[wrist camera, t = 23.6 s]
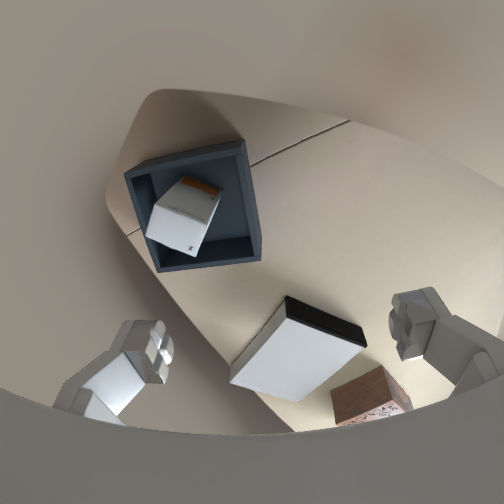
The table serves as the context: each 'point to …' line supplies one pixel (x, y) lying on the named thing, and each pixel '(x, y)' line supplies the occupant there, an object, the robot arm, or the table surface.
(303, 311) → the disc drive
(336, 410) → the tissue box cover
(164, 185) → the bin
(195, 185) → the cosmetic box
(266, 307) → the table surface
